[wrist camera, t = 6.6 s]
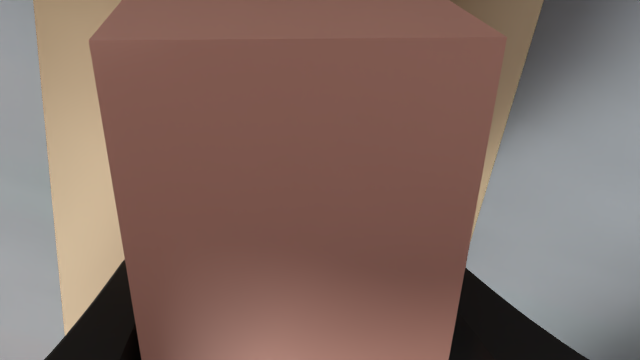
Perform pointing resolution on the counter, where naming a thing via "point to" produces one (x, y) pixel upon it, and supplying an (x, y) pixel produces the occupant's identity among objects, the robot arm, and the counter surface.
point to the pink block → (295, 172)
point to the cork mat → (90, 148)
